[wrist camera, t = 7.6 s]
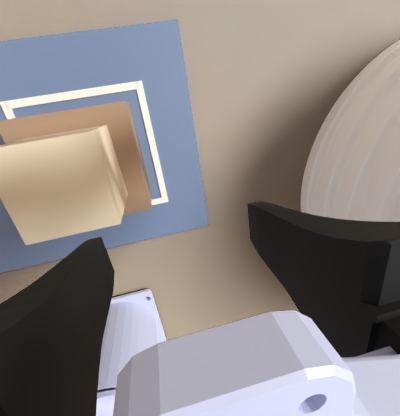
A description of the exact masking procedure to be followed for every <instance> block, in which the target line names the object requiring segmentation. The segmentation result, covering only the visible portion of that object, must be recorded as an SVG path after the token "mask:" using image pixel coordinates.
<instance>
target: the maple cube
mask: <svg viewBox="0 0 400 416" xmlns="http://www.w3.org/2000/svg"><path fill="white" fill-rule="evenodd" d="M127 196H128V193H127V190H126V187H125V183H124V180H123V177H122V173H121V170H120V167H119V163H118V160H117V157H116V153H115V150H114V147H113V143H112V140H111V137H110V133H109V130H108V127H107V125H101V126H95V127H90V128H84V129H78V130H73V131H67V132H61V133H55V134H50V135H44V136H38V137H33V138H27V139H23V140H19V141H15V142H11V143H7V144H3V145H0V198H1V200H2V202H3V204H4V206H5V208H6V210H7V211H8V213H9V215H10V217H11V219H12V221H13V222H14V224H15V226H16V228H17V230H18V232H19V234H20V235H21V237H22V239H23V241H24V243H25V245H30V244H34V243H39V242H43V241H48V240H52V239H57V238H61V237H65V236H70V235H74V234H79V233H83V232H88V231H92V230H97V229H101V228H106V227H110V226H115V225H119V224H121V221H122V217H123V213H124V208H125V204H126V200H127Z"/></svg>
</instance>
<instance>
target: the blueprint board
mask: <svg viewBox="0 0 400 416" xmlns="http://www.w3.org/2000/svg"><path fill="white" fill-rule="evenodd" d="M120 101H126V102H129V104H130V108H131V112H132V116H133V120H134V124H135V128H136V132H137V136H138V140H139V144H140V148H141V152H142V156H143V160H144V164H145V168H146V172H147V176H148V180H149V184H150V188H151V203H152V209H150V210H145V211H141V212H136V213H131V214H127V215H123V217H122V221H121V224H119V225H115V226H110V227H106V228H101V229H97V230H92V231H88V232H83V233H79V234H74V235H70V236H65V237H61V238H57V239H52V240H48V241H43V242H39V243H34V244H30V245H25V243H24V241H23V239H22V237H21V235H20V234H19V232H18V230H17V228H16V226H15V224H14V222H13V221H12V219H11V217H10V215H9V213H8V211H7V210H6V208H5V206H4V204H3V202H2V200H1V198H0V273H4V272H8V271H12V270H17V269H21V268H25V267H30V266H34V265H38V264H43V263H47V262H52V261H56V260H60V259H64V258H65V257H66V256H68V255H69V254H70V253H71V252H72V251H74V250H75V249H76V248H77V247H78V246H80V245H81V244H82V243H83V242H85V241H86V240H88V239H93V238H97V237H102V240H103V243H104V245H105V248H106V249H108V248H112V247H117V246H121V245H125V244H130V243H134V242H139V241H143V240H147V239H152V238H156V237H160V236H165V235H169V234H173V233H178V232H182V231H186V230H191V229H195V228H199V227H204V226H208V225H209V221H208V215H207V208H206V202H205V195H204V189H203V182H202V175H201V169H200V162H199V156H198V149H197V142H196V136H195V129H194V123H193V116H192V110H191V103H190V96H189V90H188V83H187V77H186V70H185V63H184V57H183V50H182V44H181V37H180V31H179V24H178V20H171V21H163V22H155V23H146V24H138V25H130V26H122V27H114V28H106V29H97V30H89V31H81V32H73V33H65V34H57V35H48V36H40V37H32V38H24V39H16V40H8V41H0V121H1V120H7V119H13V118H19V117H26V116H32V115H38V114H45V113H51V112H57V111H63V110H70V109H76V108H82V107H89V106H95V105H101V104H107V103H114V102H120ZM3 144H5V142H4V140H3V138H2V136H1V134H0V145H3Z"/></svg>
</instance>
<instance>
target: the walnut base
mask: <svg viewBox="0 0 400 416" xmlns="http://www.w3.org/2000/svg"><path fill="white" fill-rule="evenodd" d="M101 125H107V127H108V130H109V133H110V137H111V140H112V143H113V147H114V150H115V153H116V157H117V160H118V163H119V167H120V170H121V173H122V177H123V180H124V183H125V187H126V190H127V193H128V196H127V200H126V204H125V208H124V213H123V215H127V214H131V213H136V212H141V211H145V210H150V209H152V203H151V188H150V184H149V180H148V176H147V172H146V168H145V164H144V160H143V156H142V152H141V148H140V144H139V140H138V136H137V132H136V128H135V124H134V120H133V116H132V112H131V108H130V104H129V102H126V101H120V102H114V103H107V104H101V105H95V106H89V107H82V108H76V109H70V110H63V111H57V112H51V113H45V114H38V115H32V116H26V117H19V118H13V119H7V120H1V121H0V134H1V136H2V138H3V140H4V142H5V144H7V143H11V142H15V141H19V140H23V139H27V138H33V137H38V136H44V135H50V134H55V133H61V132H67V131H73V130H78V129H84V128H90V127H95V126H101Z"/></svg>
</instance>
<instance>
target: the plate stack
mask: <svg viewBox="0 0 400 416" xmlns="http://www.w3.org/2000/svg"><path fill="white" fill-rule="evenodd" d="M301 212H303V213H308V214H312V215H317V216H323V217H329V218H336V219H344V220H356V221H375V222H400V39H399V40H398V41H396V42H395V43H393V44H392V45H390V46H389V47H388V48H386V49H385V50H384V51H383V52H381V53H380V54H379V55H378V56H377V57H375V58H374V59H373V60H372V61H371V62H370V63H369V64H368V65H367V66H366V67H365V68H364V69H363V70H362V71H361V72H360V73H359V74H358V75H357V76H356V77H355V78H354V79H353V80H352V82H351V83H350V84H349V85H348V86H347V88H346V89H345V90H344V92H343V93H342V94H341V96H340V97H339V98H338V100H337V101H336V103H335V104H334V106H333V107H332V109H331V110H330V112H329V114H328V115H327V117H326V119H325V121H324V122H323V124H322V126H321V128H320V130H319V132H318V134H317V136H316V139H315V141H314V143H313V146H312V148H311V151H310V154H309V157H308V160H307V164H306V167H305V171H304V176H303V181H302V188H301Z"/></svg>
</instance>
